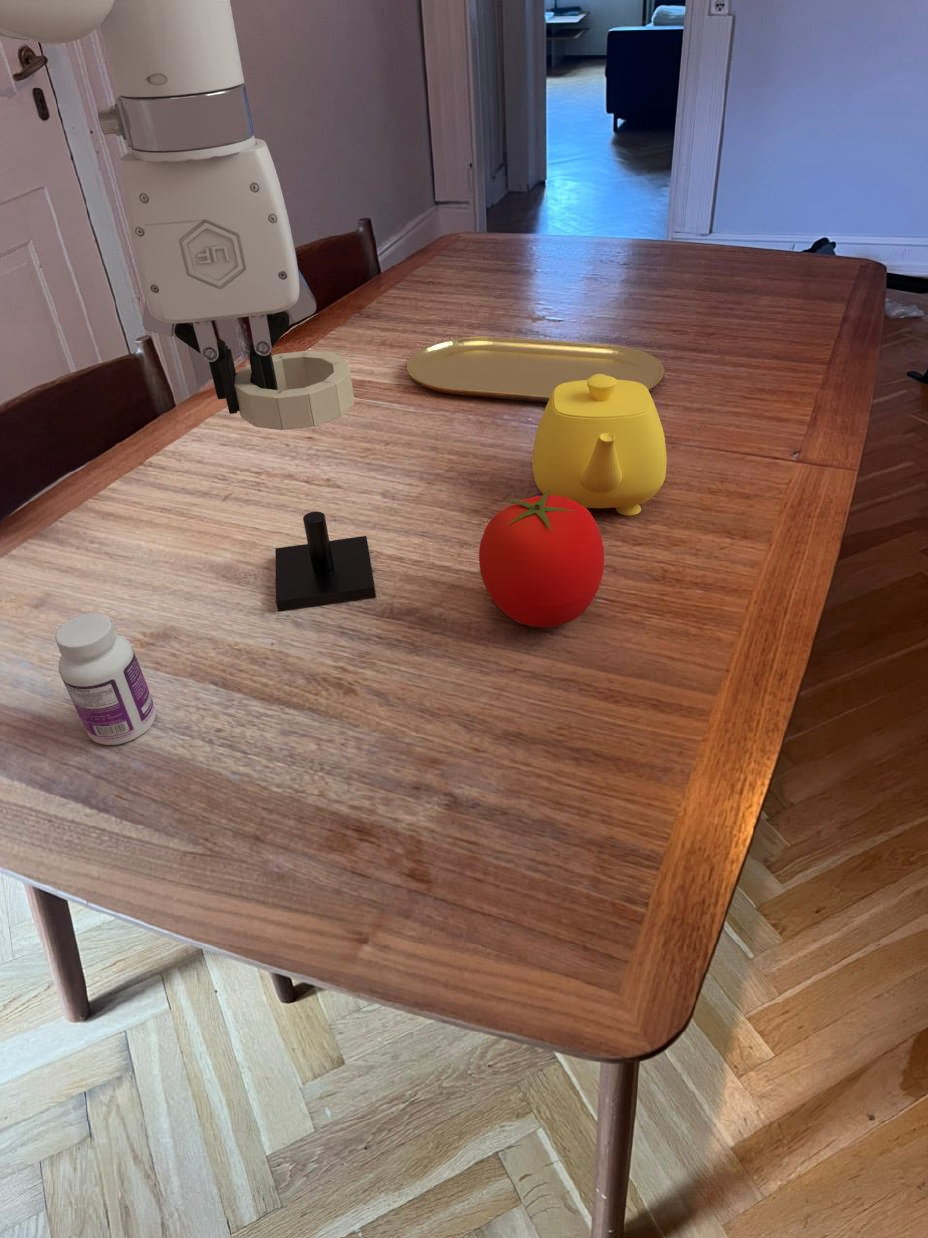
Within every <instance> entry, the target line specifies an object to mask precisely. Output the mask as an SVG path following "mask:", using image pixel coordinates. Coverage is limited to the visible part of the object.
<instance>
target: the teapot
mask: <svg viewBox="0 0 928 1238" xmlns="http://www.w3.org/2000/svg"><path fill="white" fill-rule="evenodd" d="M667 462H668V459H667V446H666V437H665V432H664V428H663V425H662V421H661V418H660V415H659V413H658V410H657V407H656V405H655V401H654V399H653V397H652V395H651V393H650V392H649V390H648V389H647V387H646V386H644V385H643V384H641V383H638V382H634V381H628V380H616V379H615V378H613V377H611V376H606V375H603V374H595V375H593V376H591V378H589V379H588V380H580V381H572V382H567V383H563V384H560V385H558V386H557V387H556V388H555V389H554V391H553V393H552V395H551V397H550V399H549V401H548V403H547V404H546V405H545V408H544V410H543V413H542V415H541V418H540V420H539V423H538V426H537V429H536V433H535V437H534V444H533V449H532V462H531V463H532V464H531V465H532V466H531V467H532V474H533V478H534V481H535V484H536V486H537V487H538V489H539V491H540V492H541V494H542V495H544V494H545V493H546V492H547V491H548V490H549V492H548V495H555V496H561V497H566V498H569V499H572V500H574V501H576V502H577V503H579V504H581V505H582V506H584V507H585V508H586V509H612V508H613V509H614V508H615V510H616V512H617V513H619V514H620V515H623V516H635V515H638V514H640V513H641V511H642V508H641V504H644V503H646V502H649V501H650V500H651V499H653V498H654V496H656V495H657V493H658V492H659V491H660V489H661V487H663V485H664V482H665V480H666V475H667V464H668V463H667Z"/></svg>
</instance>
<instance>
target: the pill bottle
mask: <svg viewBox="0 0 928 1238" xmlns="http://www.w3.org/2000/svg"><path fill="white" fill-rule="evenodd" d="M54 638H55V643H56V645H57V647H58V650H59V653H60V657H59V660H58V663H57V664H58V665H57V668H58V672H59V676H60V678H61V680H62V682H63V684H64V687H65V689H66V691H67V694H68V696H69V697H70V700H71V701H72V704H73V706H74V708H75V711H76V712H77V715H78V717H79V719H80V721H81V723H82V726H83V728H84V729H85V730H84V731H86V733H87V735H88V737H89V738H90V739H91V740H92V741H94V742H95V743H97V744H100V745H105V746H117V745H121V744H125V743H129V742H131V741H133V740H136V739H137V738H140V737H141V736H142V735H144V734H145V733H146V732H147V731H149V729H150V728H151V727H152V725H153V724H154V722H155V720H156V715H157V709H156V706H155V703H154V700H153V697H152V694H151V692H150V689H149V686H148V684H147V681H146V679H145V676H144V673H143V671H142V669H141V666H140V663H139V661H138V658H137V656H136V653H135V650H134V647H133V646H132V644H131V643H130V641H129V640H128V639H127V638H126V637H124V636H122V635H121V634H119V633H117V630H116V628H115V625H114V624H113V621H112V620H111V618H110V617H109V616H108V615H107V614H104V613H100V612H88V613H83V614H79V615H77V616H74V617H72V618H70V619H68V620H66V621H65V622H64V623H62V624H61V625H60V626H59V627H58V629H57V630H56V632H55V635H54Z"/></svg>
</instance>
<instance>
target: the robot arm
mask: <svg viewBox="0 0 928 1238" xmlns="http://www.w3.org/2000/svg"><path fill="white" fill-rule="evenodd" d="M98 27H99V28H100V32H101V35H102V36H101V37H102V39H103V45H104V47H105V52H106V55H107V59H108V62H109V67H110V70H111V74H112V78H113V81H114V85H115V89H116V93H117V94H116V95H117V97H116V98H115V100H116V102H115V103H114V105H110V106H109V107H108V108H102V109H97V118H98V125H99V126H100V130H101V132H102V134H103V135H115V136H116V137H122V138H123V141H125V140H126V143H127V147H128V148H130V149H131V151H129V152H127V153H125V154H124V155H123V156H121V157H120V159H119V161H120V175H121V176H120V177H121V185H122V194H123V201H124V207H125V212H126V213H125V214H126V219H127V224H128V230H129V236H130V240H131V245H132V249H133V255H134V259H135V264H136V268H137V274H138V278H139V282H140V286H141V287H140V288H141V290H142V294H143V299H144V304H143V305H144V306H143V315H142V326H143V329H144V330H146V331H148V332H150V333H155V334H158V335H163V336H167V337H174V338H177V339H179V340H180V341H182V342H183V343H184V344H185V345H187V346H189V348H192V349H193V350H195V351H196V352H198V354H200V355H201V357H202V359H203V360H204V361H206V362H208V364H209V368H210V369H209V370H210V374H211V377H212V381H213V386H214V389H215V394H216V397H217V399H218V400H226V405H227V409H228V413H229V415H233V414H234V415H235V414H238V412H240V410H239V405H238V401H237V397H236V392H235V388H234V381H235V374H236V373H237V371H236V367H235V362H234V357H233V354H232V353H233V352H232V349H231V348H229V346H228V345H226V341H224V340H223V339H222V336H221V333H220V328H219V325H218V321H220V320H228V319H229V320H230V319H238V318H246V317H248V321H249V325H250V326H249V327H250V330H251V331H250V332H251V337H252V338H251V339H250V350H249V358H248V359H249V364H250V366H251V371H252V376H253V380H254V385H256V386H258V387H259V388H262V389H271V390H278V387H277V380H276V375H275V370H274V365H273V360H272V356H273V355H272V349H273V348H274V346H275V345H276V343H277V342H278V341H279V339H280V338H281V337H282V335H283V334H284V333H285V331H286V330H287V329H288V328H289V326H291V325H293V324H296V323H298V322H300V321H302V320H304V319H306V318H308V317H310V316H312V315H313V314H315V313H316V311H317V300H316V298H315V296H314V294H313V292H312V291H311V288H310V287H309V285H308V283H307V282H306V280H305V278H304V276H303V274H302V273H301V271H300V269H299V266H298V258H297V254H296V253H297V252H296V248H295V243H294V238H293V234H292V229H291V228H292V227H291V223H290V219H289V215H288V210H287V206H286V202H285V199H284V195H283V194H284V193H283V191H282V186H281V183H280V180H279V176H278V172H277V170H276V166H275V163H274V161H273V158H272V155H271V152H270V149H269V147H268V145H267V143H266V141H265V140H264V139H262V138H256V137H255V133H254V127H253V121H252V116H251V115H252V114H251V109H250V105H249V98H248V92H247V87H246V84H245V78H244V72H243V67H242V61H241V56H240V55H241V54H240V50H239V44H238V38H237V33H236V27H235V21H234V15H233V10H232V5H231V0H0V37H2V38H7V39H13V40H23V41H31V42H35V43H40V44H49V45H50V44H51V45H52V44H54V45H59V44H60V45H61V44H68V43H71V42H75V41H78V40H80V39H82V38H84V37H86V36H88V35H90V34H92V32H94V31H95V30H96V29H97V28H98Z"/></svg>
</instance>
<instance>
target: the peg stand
mask: <svg viewBox="0 0 928 1238" xmlns="http://www.w3.org/2000/svg"><path fill="white" fill-rule="evenodd" d="M302 522H303V526H304V532H305V536H306V542H307V543H304V544H296V545H290V546H281V547H276V548H275V552H274V553H275V562H274V563H275V569H274V570H275V605H276V609H277V612H285V611H291V610H298V609H304V608H305V609H306V608H312V607H319V606H325V605H332V604H339V603H347V602H352V601H359V600H366V599H373V598H376V597H377V594H376V588H375V587H376V586H375V580H374V575H373V569H372V562H371V556H370V549H369V543H368V536H367V535H361V536H354V537H353V536H352V537H347V538H346V537H345V538H340V539H332V540H330V537H329V532H328V525H327V520H326V515H325V513H324V512H321V511H310V512H307V513H305V515H304V516H303V517H302Z"/></svg>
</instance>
